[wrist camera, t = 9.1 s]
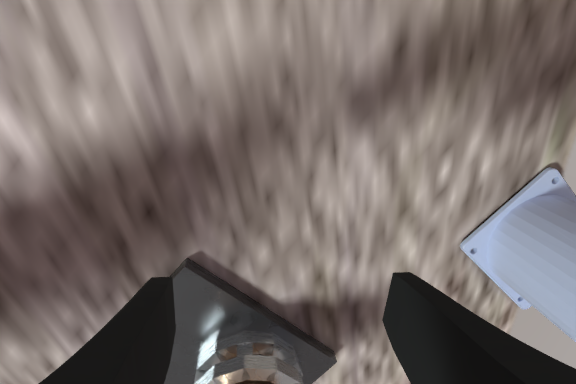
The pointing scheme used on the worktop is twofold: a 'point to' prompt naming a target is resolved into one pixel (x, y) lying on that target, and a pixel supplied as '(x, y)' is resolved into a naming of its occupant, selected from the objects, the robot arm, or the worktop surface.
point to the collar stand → (235, 337)
